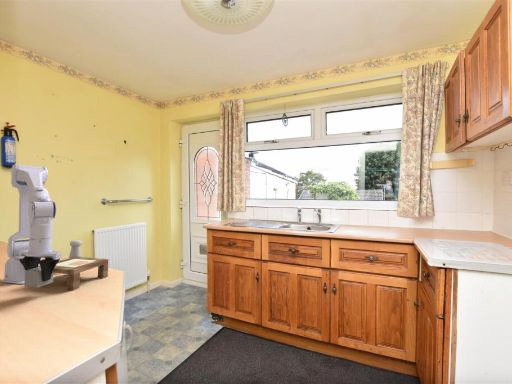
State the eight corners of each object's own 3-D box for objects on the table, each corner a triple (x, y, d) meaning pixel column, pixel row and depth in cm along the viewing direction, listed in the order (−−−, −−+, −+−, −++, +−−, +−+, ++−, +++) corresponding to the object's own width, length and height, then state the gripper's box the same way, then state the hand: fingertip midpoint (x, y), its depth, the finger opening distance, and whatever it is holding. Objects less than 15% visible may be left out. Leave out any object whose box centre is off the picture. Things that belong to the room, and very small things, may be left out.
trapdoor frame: (35, 286, 90) (36, 266, 91) (74, 273, 106) (75, 256, 106) (73, 290, 88) (74, 270, 88) (107, 276, 103) (108, 259, 104)
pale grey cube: (24, 286, 80) (25, 270, 80) (40, 281, 85) (40, 266, 85) (37, 287, 79) (38, 271, 79) (52, 282, 84) (53, 267, 84)
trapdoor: (51, 267, 93) (51, 264, 93) (74, 261, 103) (75, 258, 103) (74, 270, 91) (74, 267, 91) (96, 263, 101) (96, 260, 101)
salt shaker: (74, 272, 107) (75, 241, 108) (63, 271, 109) (64, 240, 109) (85, 268, 113) (87, 239, 113) (75, 267, 114) (76, 238, 114)
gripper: (9, 238, 79) (7, 281, 79) (47, 241, 77) (45, 285, 77) (32, 235, 86) (30, 274, 86) (68, 237, 84) (66, 278, 84)
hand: (39, 279), depth 82 cm, fingers closed on pale grey cube, 5 cm apart
